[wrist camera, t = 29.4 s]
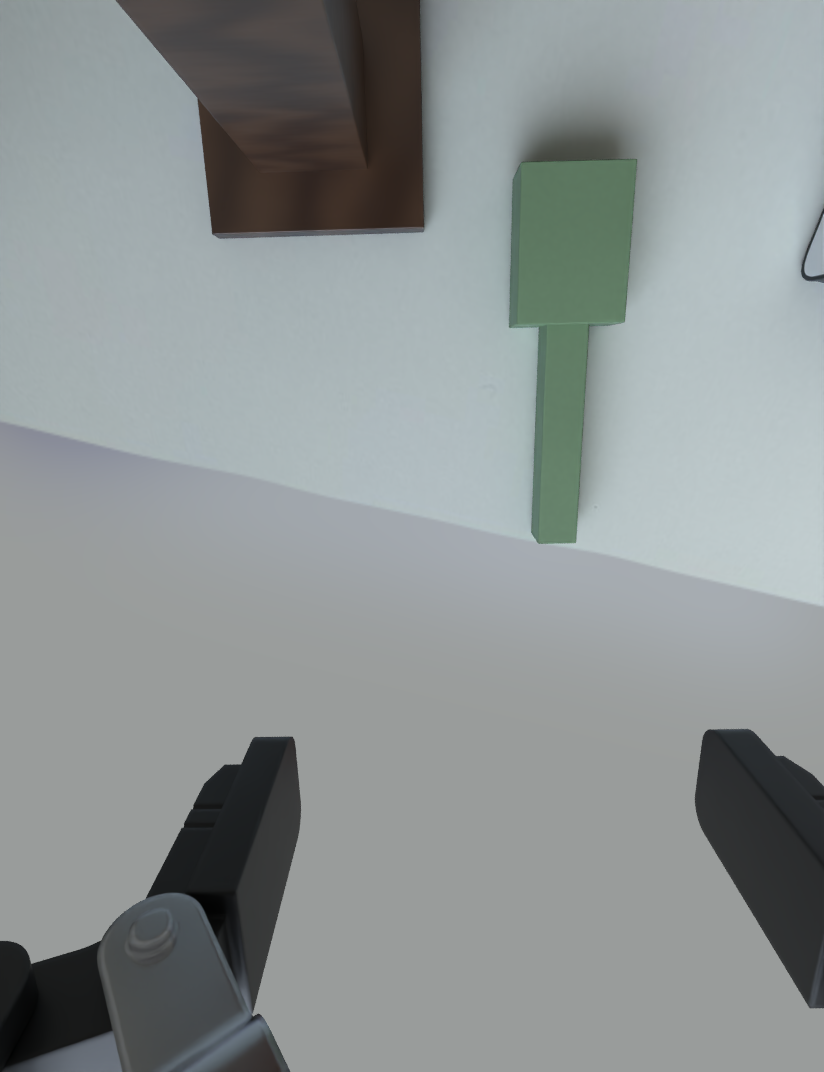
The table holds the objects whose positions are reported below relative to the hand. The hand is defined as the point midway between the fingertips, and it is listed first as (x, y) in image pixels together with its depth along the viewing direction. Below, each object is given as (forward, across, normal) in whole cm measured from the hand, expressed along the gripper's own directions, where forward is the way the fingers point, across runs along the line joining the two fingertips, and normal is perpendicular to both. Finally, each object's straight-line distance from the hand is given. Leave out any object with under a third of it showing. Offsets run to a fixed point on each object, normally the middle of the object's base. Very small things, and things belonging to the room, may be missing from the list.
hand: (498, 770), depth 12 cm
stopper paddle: (+28, +7, +7) cm, 30 cm away
